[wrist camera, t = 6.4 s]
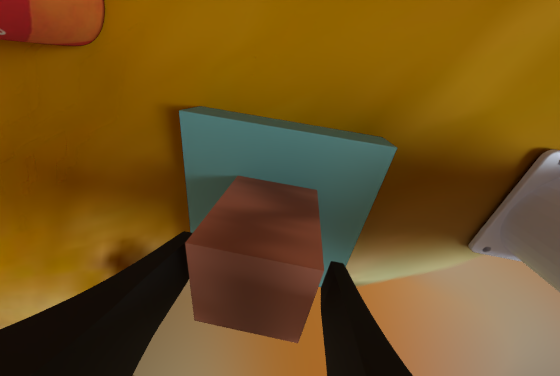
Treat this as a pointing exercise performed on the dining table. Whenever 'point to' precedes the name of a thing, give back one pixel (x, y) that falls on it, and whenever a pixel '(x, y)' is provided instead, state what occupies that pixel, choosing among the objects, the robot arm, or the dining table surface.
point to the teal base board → (285, 168)
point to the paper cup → (51, 21)
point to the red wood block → (257, 259)
